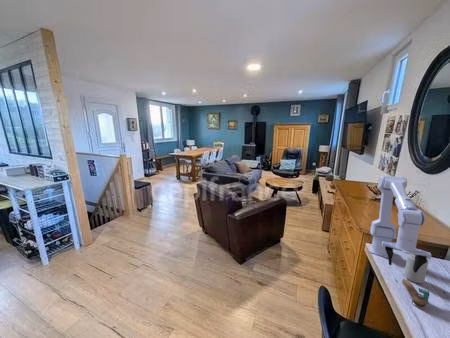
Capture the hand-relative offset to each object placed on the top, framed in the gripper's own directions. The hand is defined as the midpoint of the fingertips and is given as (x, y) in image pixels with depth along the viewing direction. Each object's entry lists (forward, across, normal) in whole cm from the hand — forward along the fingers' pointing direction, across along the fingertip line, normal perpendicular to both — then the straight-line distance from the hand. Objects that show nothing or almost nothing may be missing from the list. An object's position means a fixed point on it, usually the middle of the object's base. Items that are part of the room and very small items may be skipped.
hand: (401, 267), depth 78 cm
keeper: (+10, +6, -3) cm, 12 cm away
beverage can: (+10, +6, +10) cm, 15 cm away
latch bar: (+9, +4, -3) cm, 10 cm away
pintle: (+10, +5, -7) cm, 13 cm away
